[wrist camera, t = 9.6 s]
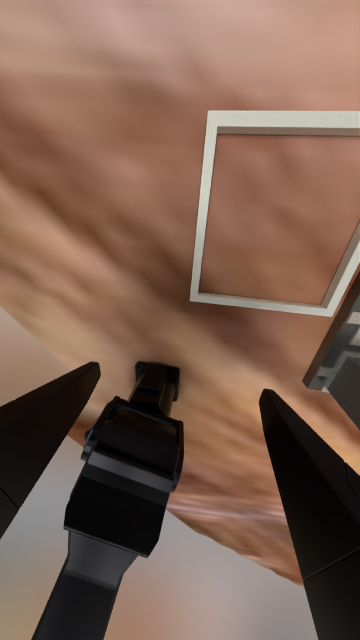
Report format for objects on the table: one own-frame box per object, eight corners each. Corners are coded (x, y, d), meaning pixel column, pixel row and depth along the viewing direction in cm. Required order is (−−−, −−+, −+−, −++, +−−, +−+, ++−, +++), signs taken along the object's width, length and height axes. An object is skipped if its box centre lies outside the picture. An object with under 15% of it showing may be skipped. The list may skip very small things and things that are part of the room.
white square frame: (325, 312, 18) (331, 316, 17) (190, 298, 20) (189, 300, 19) (419, 121, 12) (436, 111, 11) (208, 119, 13) (208, 110, 12)
